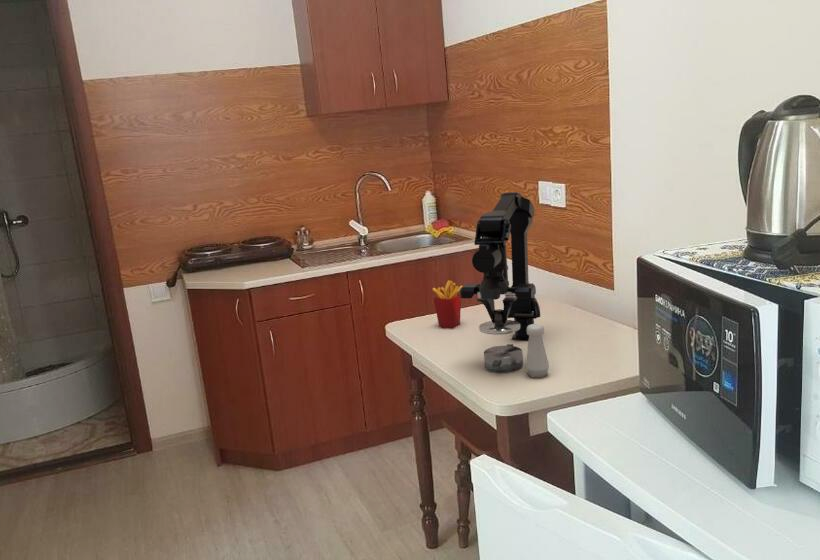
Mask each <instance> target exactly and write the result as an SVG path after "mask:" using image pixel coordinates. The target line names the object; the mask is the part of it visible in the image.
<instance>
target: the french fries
mask: <svg viewBox="0 0 820 560" xmlns="http://www.w3.org/2000/svg"><path fill="white" fill-rule="evenodd" d="M463 286H464V285H460V286H458V285H456V283H455V282H454V281H452V280H449V279H448V280H447V282H446V283H445V286H444V287H443V286H441V287H440V286H439V287H437V288H435V287H433V288H432V289H431V290H432V292H434V293H435V294H437V295H436V296H435V297H434V298H433V302H434V307H435V313H436V318H437V323H438V327H441V328H440V329H446V328H454V327H455V328H457V327H458V325H459V326H460V325H461V310H462V309H461V308H462V306H461V305H462V303H461V302H462V298H460V289H461V288H462V287H463ZM441 291H443V293H442V292H441ZM456 326H457V327H456ZM455 328H454V329H455Z"/></svg>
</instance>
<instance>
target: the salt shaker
mask: <svg viewBox="0 0 820 560" xmlns="http://www.w3.org/2000/svg"><path fill="white" fill-rule="evenodd" d="M544 333H545V328H544V326H543V325H542V324H540V323H534V324H531V325H528V326H527V334H528V335H529V340H528V342H527V343H528V345H527V350H526V351H527V352H526V359H525V370H526V372H527V374H528V375H529V377H531V376H532V378H543V377H546V376H547V373H548V371H549V368H550V363H549V360H548V355H547V352H546V348H545V344H544V338H543V335H544Z"/></svg>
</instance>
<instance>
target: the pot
mask: <svg viewBox="0 0 820 560" xmlns="http://www.w3.org/2000/svg"><path fill="white" fill-rule="evenodd" d="M483 361H484V363H483V364H484V365H483V366H484V369H485V370H486V371H488V372H489V373H490V372H491V373H497V374H505V373H507V374H508V373H512V372H513V373H514V372H517V371H519V370H522V368H523V367H524V359H523V349H522V348H520V347H518V346H514V344H506V345H497V346H496V345H495V346H492V347H488V348H486V349H485V350H484V351H483Z"/></svg>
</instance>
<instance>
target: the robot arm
mask: <svg viewBox="0 0 820 560" xmlns="http://www.w3.org/2000/svg"><path fill="white" fill-rule="evenodd" d="M534 207H535V206H534V205H533V203H532V200H531V199H529V198H527V197H525V196H523V195H522V194H521V193H520V192H517V191H516V192H515V191H513V192H503V193H501V194H500V198H499V200H498V202H497V203H496V205H495V206H494V208H493V209H492V210H491V211H489V212H485V213H483V214H482V215H481V216H480V217H479V220H477V224H476V229H475V234H474V235H475V236H474V237H475V238H474V241H473V242H474V243H473V244H474V245H475V246H477V245H478V250H477V251H476V252H474V254H473V255H472V259H471V262H472V266H473V268H474V269H475V270H476V271H477V272H479V273H482V274H483V277H482V280H481V282H480V283H479V282H477V283H475V282H472V283H471V282H470V283H469V282H467V283H466V284H465V285H462V286H463V287H462V288H461V289H460V291H459V294H460V298H461V299H472V298H473V297H474V296H475V295H477V299H476V301H477V302H480V303H482V305H483V306H484V308H485V309H486V311H487V314H488V316H489V318H490V319H491V320H490V321H492V323H494V310H496V308H495V306H496V305H495V300H499V299H500V298H501V295H504V298H503V299H502V304H503V309H502V310H503V320H504V324H506V322H507V320H509V319H513V321H516V322H519V323H520V329H519V330H518V331H516V332H514V334H513V335H512V337H511V339H512V340H525V341H526V340H527V341H529V335H528V334H527V326H528V325H531V324H535V319H536V320H537V319H538V318H541V307H540V305H539V302H538V300H537V298H536V296H535V295H536V293H537V290H536V287H537V286H536V285H535V284H534V282H533V283H530V282H529V257H528V256H529V255H528V254H529V253H528V248H529V247H528V231H529V230H530V228H531V226H532V224H533V218H534V216H535V208H534ZM509 240H510V241H511V242H510V244H511V246H510V247H511V248H510V249H511V273H512V276H511V278H512V279H511V280H512V284H511V286H510V281H509V275H508V274H509V272H508V270H509V266H508V258H507V242H508V241H509Z"/></svg>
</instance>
